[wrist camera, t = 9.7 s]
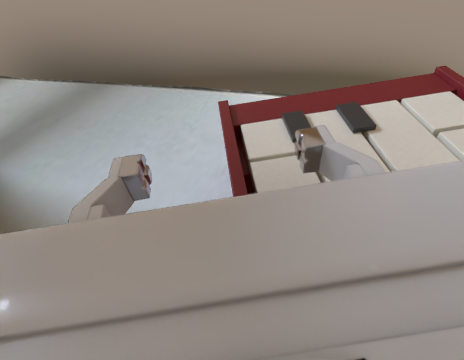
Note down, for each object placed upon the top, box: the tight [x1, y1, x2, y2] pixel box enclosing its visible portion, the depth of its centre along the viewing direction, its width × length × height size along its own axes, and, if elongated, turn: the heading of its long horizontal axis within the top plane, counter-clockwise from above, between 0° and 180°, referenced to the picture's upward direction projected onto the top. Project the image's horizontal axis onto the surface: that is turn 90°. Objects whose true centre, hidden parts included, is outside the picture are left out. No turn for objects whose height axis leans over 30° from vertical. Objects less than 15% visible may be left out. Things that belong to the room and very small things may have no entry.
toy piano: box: [218, 66, 464, 197], centre depth 22 cm, size 19×12×7 cm, turn 97°
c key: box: [250, 156, 321, 193], centre depth 17 cm, size 4×4×1 cm
